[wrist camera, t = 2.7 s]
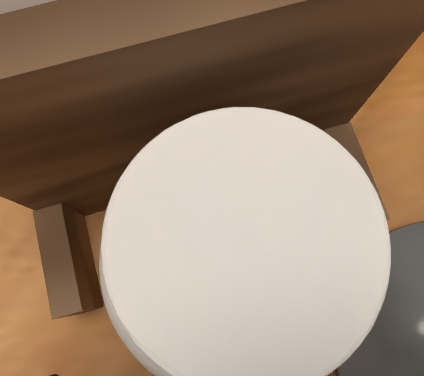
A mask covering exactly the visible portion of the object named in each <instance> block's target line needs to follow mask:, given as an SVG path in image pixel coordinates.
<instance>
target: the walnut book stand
mask: <svg viewBox="0 0 424 376" xmlns="http://www.w3.org/2000/svg"><path fill="white" fill-rule="evenodd" d="M423 31H424V0H57V1H53V2H49V3H45V4H40V5H36V6H33V7H28V8H25V9H20V10H16V11H12V12H9V13H4V14H0V196H1V197H4V198H6V199H9V200H11V201H13V202H16V203H18V204H21V205H23V206H25V207H28V208H30V209H33V210H35V211H33V216H34V221H35V227H36V232H37V238H38V243H39V249H40V255H41V260H42V266H43V271H44V277H45V282H46V288H47V293H48V299H49V305H50V310H51V316H52V319H57V318H62V317H67V316H71V315H76V314H80V313H84V312H87V311H90V310H94V309H97V308H100V307H103V302H102V297H101V293H100V288H99V283H98V278H97V274H96V269H95V264H94V260H93V255H92V250H91V245H90V241H89V236H88V231H87V227H86V222H85V217H84V216H85V215H88V214H92V213H95V212H99V211H102V210H106V209H107V206H108V204H109V201H110V198H111V195H112V193H113V190H114V188H115V186H116V184H117V182H118V181H119V179H120V177H121V176H122V174H123V173H124V171H125V170H126V168H127V167H128V165H129V164H130V162H131V161H132V160H133V159H134V157H135V156H136V155H137V154H138V153H139V152H140V151H141V150H142V149H143V148H144V147H145V146H146V145H147V144H148V143H149V142H150V141H151V140H153V139H154V138H155V137H156V136H158V135H159V134H160V133H161V132H163V131H164V130H166V129H167V128H169V127H171V126H173V125H174V124H177V123H179V122H181V121H183V120H185V119H187V118H190V117H192V116H194V115H197V114H200V113H203V112H207V111H211V110H217V109H222V108H230V107H255V108H262V109H269V110H275V111H279V112H282V113H285V114H288V115H291V116H295V117H297V118H299V119H301V120H304V121H306V122H308V123H310V124H312V125H314V126H316V127H318V128H319V129H321V130H323V131H324V132H325V133H327V134H328V135H329V136H331V137H332V138H333V139H335V140H336V141H337V142H338V143H340V144H341V145H342V146H343V147H344V148H345V149H346V150H347V151H348V152H349V153H350V154H351V155H352V156H353V157H354V158H355V159H356V161H357V162H358V163H359V164H360V166H361V167H362V168H363V170H364V171H365V173H366V175H367V176H368V178H369V180H370V181H371V183H372V185H373V187H374V189H375V190H376V192H377V194H378V197H379V200H380V202H381V205H382V207H383V210H384V213H385V217H386V220H389V219H390V218H389V216H388V214H387V211H386V209H385V206H384V204H383V201H382V199H381V196H380V194H379V191H378V189H377V187H376V184H375V182H374V179H373V177H372V174H371V172H370V169H369V167H368V165H367V162H366V160H365V157H364V155H363V152H362V150H361V147H360V145H359V142H358V140H357V138H356V135H355V133H354V130H353V128H352V125H351V123H349V121H350V120H351V119H352V118H353V116H354V115H355V114H356V113H357V112H358V110H359V109H360V108H361V107H362V105H363V104H364V103H365V102H366V101H367V99H368V98H369V97H370V96H371V94H372V93H373V92H374V91H375V90H376V88H377V87H378V86H379V85H380V83H381V82H382V81H383V80H384V79H385V77H386V76H387V75H388V74H389V72H390V71H391V70H392V69H393V68H394V66H395V65H396V64H397V63H398V61H399V60H400V59H401V58H402V57H403V55H404V54H405V53H406V52H407V50H408V49H409V48H410V47H411V46H412V44H413V43H414V42H415V41H416V39H417V38H418V37H419V36H420V35H421V33H422V32H423Z"/></svg>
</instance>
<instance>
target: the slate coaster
mask: <svg viewBox="0 0 424 376" xmlns="http://www.w3.org/2000/svg"><path fill="white" fill-rule="evenodd" d="M389 235H390V245H391V268H390V276H389V283H388V287H387V291H386V295H385V299H384V302H383V304H382V307H381V310H380V311H379V314H378V316H377V319H376V321H375V323H374V325H373V327H372V329H371V330H370V332H369V333H368V334H367V336H366V337H365V339H364V340H363V342H362V343H361V345H360V346H359V347H358V348H357V349H356V350H355V351H354V352H353V354H352V355H351V356H350V357H349V358H348V359H347V360H346V361H345V362H344V363H343V364H342V365H341V366H339V367H338V368H337V369H335V370H336V374H337V376H424V221H423V222H419V223H415V224H411V225H407V226H404V227H401V228H399V229H396V230H394V231H391V232H389Z"/></svg>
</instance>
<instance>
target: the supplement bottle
mask: <svg viewBox="0 0 424 376" xmlns="http://www.w3.org/2000/svg"><path fill="white" fill-rule="evenodd" d="M390 268H391V245H390V235H389V230H388V225H387V220H386V217H385V213H384V210H383V207H382V205H381V202H380V200H379V197H378V194H377V192H376V190H375V189H374V187H373V185H372V183H371V181H370V180H369V178H368V176H367V175H366V173H365V171H364V170H363V168H362V167H361V166H360V164H359V163H358V162H357V161H356V159H355V158H354V157H353V156H352V155H351V154H350V153H349V152H348V151H347V150H346V149H345V148H344V147H343V146H342V145H341V144H340V143H338V142H337V141H336V140H335V139H333V138H332V137H331V136H329V135H328V134H327V133H325V132H324V131H323V130H321V129H319V128H318V127H316V126H314V125H312V124H310V123H308V122H306V121H304V120H301V119H299V118H297V117H295V116H291V115H288V114H285V113H282V112H279V111H275V110H269V109H262V108H255V107H230V108H222V109H217V110H211V111H207V112H203V113H200V114H197V115H194V116H192V117H190V118H187V119H185V120H183V121H181V122H179V123H177V124H174V125H173V126H171V127H169V128H167V129H166V130H164V131H163V132H161V133H160V134H159V135H158V136H156V137H155V138H154V139H153V140H151V141H150V142H149V143H148V144H147V145H146V146H145V147H144V148H143V149H142V150H141V151H140V152H139V153H138V154H137V155H136V156H135V157H134V159H133V160H132V161H131V162H130V164H129V165H128V167H127V168H126V170H125V171H124V173H123V174H122V176H121V177H120V179H119V181H118V182H117V184H116V186H115V188H114V190H113V193H112V195H111V198H110V201H109V204H108V206H107V209H106V214H105V218H104V222H103V228H102V238H101V247H100V259H99V275H100V283H101V290H102V295H103V300H104V304H105V307H106V310H107V313H108V315H109V318H110V320H111V322H112V324H113V327H114V328H115V330H116V332H117V334H118V336H119V337H120V338H121V340H122V341H123V343H124V344H125V346H126V347H127V348H128V350H129V351H130V352H131V353H132V355H133V356H134V357H135V358H136V359H137V360H138V362H140V363H141V364H142V365H143V366H144V367H145V368H146V369H147V370H148V371H149V372H150V373H152V374H153V375H154V376H328V375H329V374H330V373H331V372H333V371H334V370H335V369H337V368H338V367H339V366H341V365H342V364H343V363H344V362H345V361H346V360H347V359H348V358H349V357H350V356H351V355H352V354H353V352H354V351H355V350H356V349H357V348H358V347H359V346H360V345H361V343H362V342H363V340H364V339H365V337H366V336H367V334H368V333H369V332H370V330H371V329H372V327H373V325H374V323H375V321H376V319H377V316H378V314H379V311H380V310H381V307H382V304H383V302H384V299H385V295H386V291H387V287H388V283H389V276H390Z"/></svg>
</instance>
